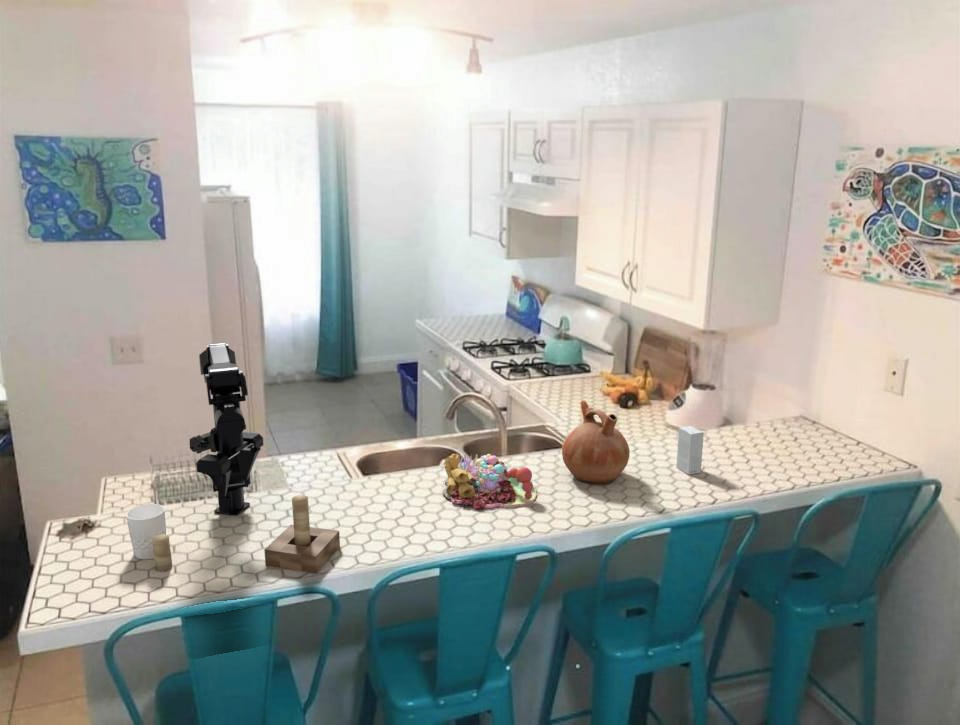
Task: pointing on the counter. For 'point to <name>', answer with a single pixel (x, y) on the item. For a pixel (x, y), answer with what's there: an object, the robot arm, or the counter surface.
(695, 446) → the skincare box
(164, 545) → the short oak dowel
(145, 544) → the white cup
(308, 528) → the tall oak dowel
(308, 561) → the walnut socket block
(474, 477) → the candy landscape model
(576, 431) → the jug
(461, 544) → the counter surface
